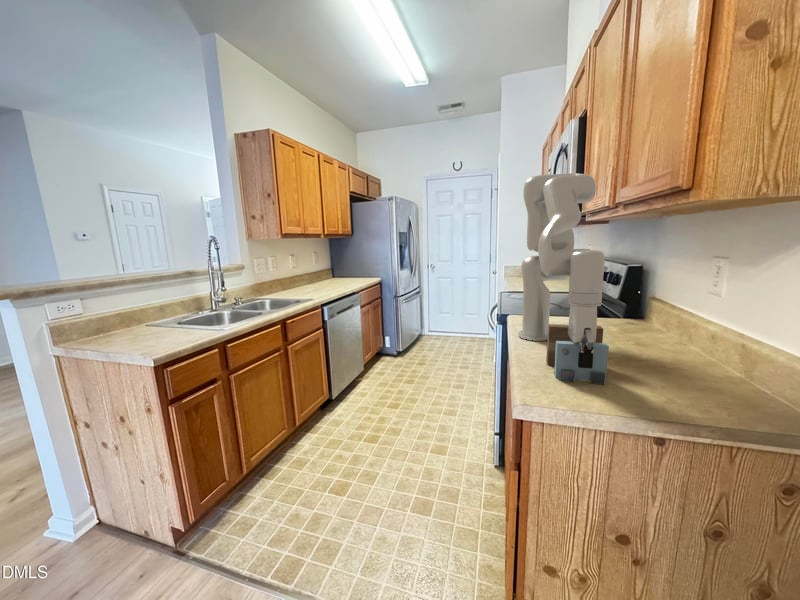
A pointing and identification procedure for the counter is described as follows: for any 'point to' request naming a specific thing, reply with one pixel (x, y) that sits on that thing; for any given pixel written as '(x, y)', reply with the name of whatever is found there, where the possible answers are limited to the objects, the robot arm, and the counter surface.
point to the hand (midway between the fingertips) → (580, 360)
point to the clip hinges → (594, 378)
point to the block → (569, 359)
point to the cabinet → (563, 339)
